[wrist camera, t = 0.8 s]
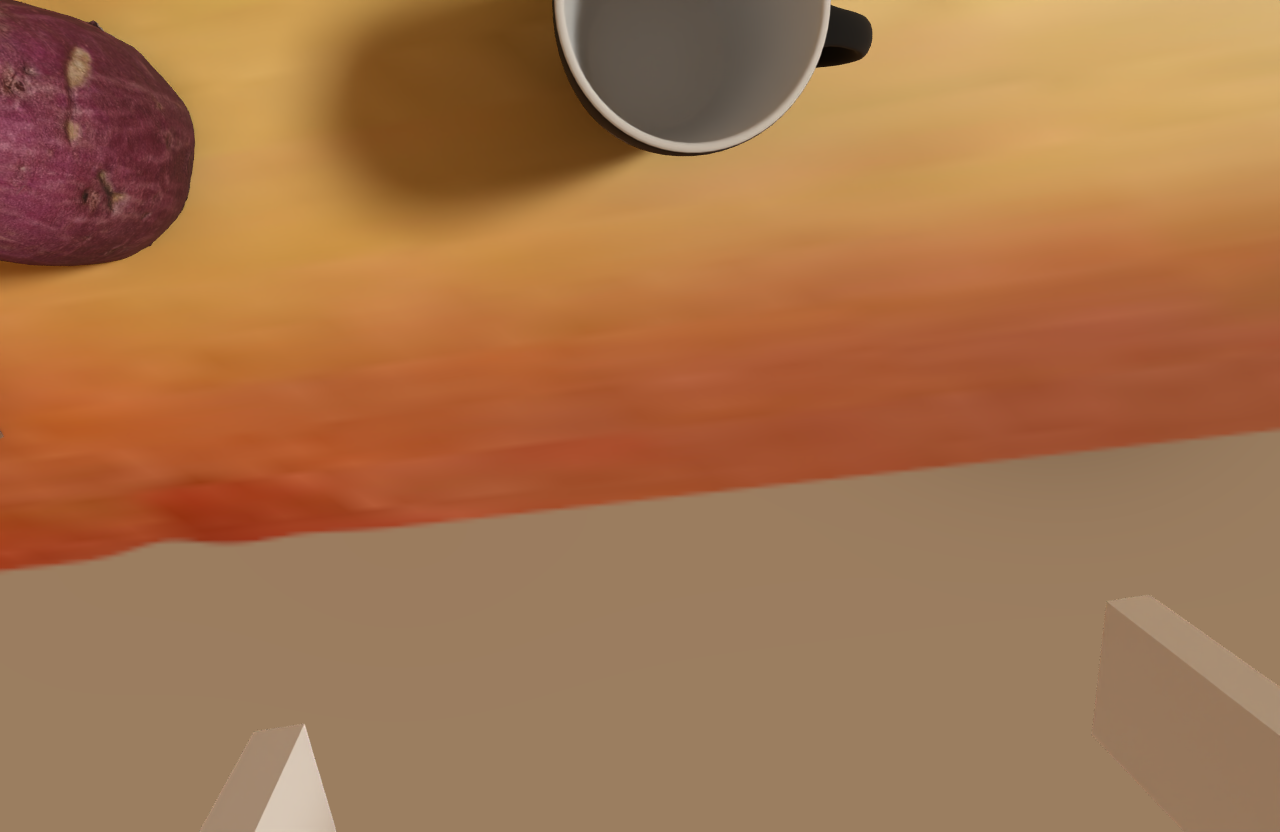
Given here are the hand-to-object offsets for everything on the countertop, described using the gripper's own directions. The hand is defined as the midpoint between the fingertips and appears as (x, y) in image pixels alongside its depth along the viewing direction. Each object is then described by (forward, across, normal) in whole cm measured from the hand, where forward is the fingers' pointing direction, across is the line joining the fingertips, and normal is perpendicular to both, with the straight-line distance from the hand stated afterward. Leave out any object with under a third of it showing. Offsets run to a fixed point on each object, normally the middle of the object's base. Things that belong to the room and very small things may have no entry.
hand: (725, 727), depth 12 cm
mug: (+26, +5, +13) cm, 30 cm away
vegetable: (+26, -22, +12) cm, 37 cm away
